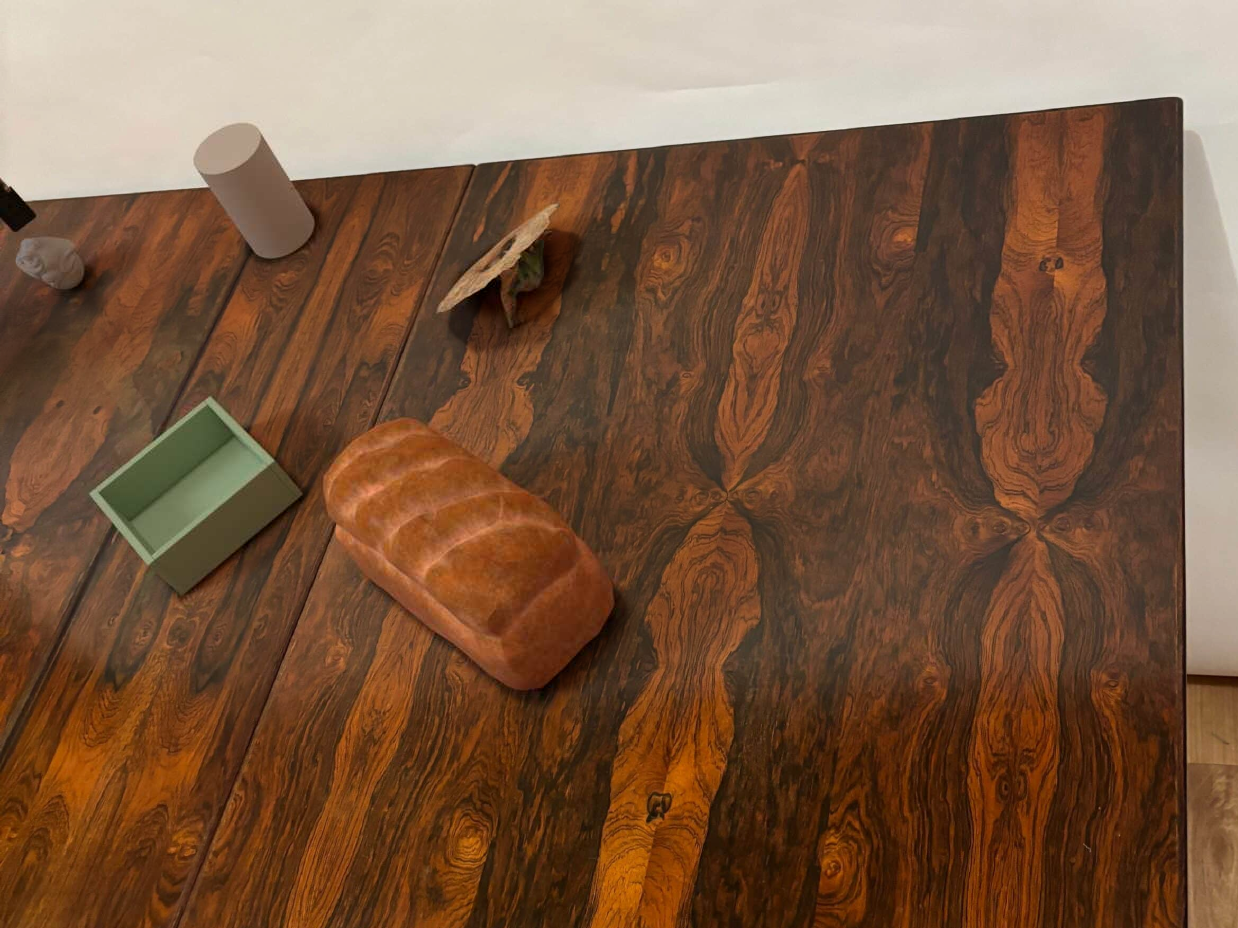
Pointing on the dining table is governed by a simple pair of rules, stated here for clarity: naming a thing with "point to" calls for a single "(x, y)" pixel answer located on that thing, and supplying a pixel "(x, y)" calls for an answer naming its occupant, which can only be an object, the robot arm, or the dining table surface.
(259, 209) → the grey tilted cylinder
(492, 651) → the bread
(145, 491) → the tub
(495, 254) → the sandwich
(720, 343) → the dining table surface
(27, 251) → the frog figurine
